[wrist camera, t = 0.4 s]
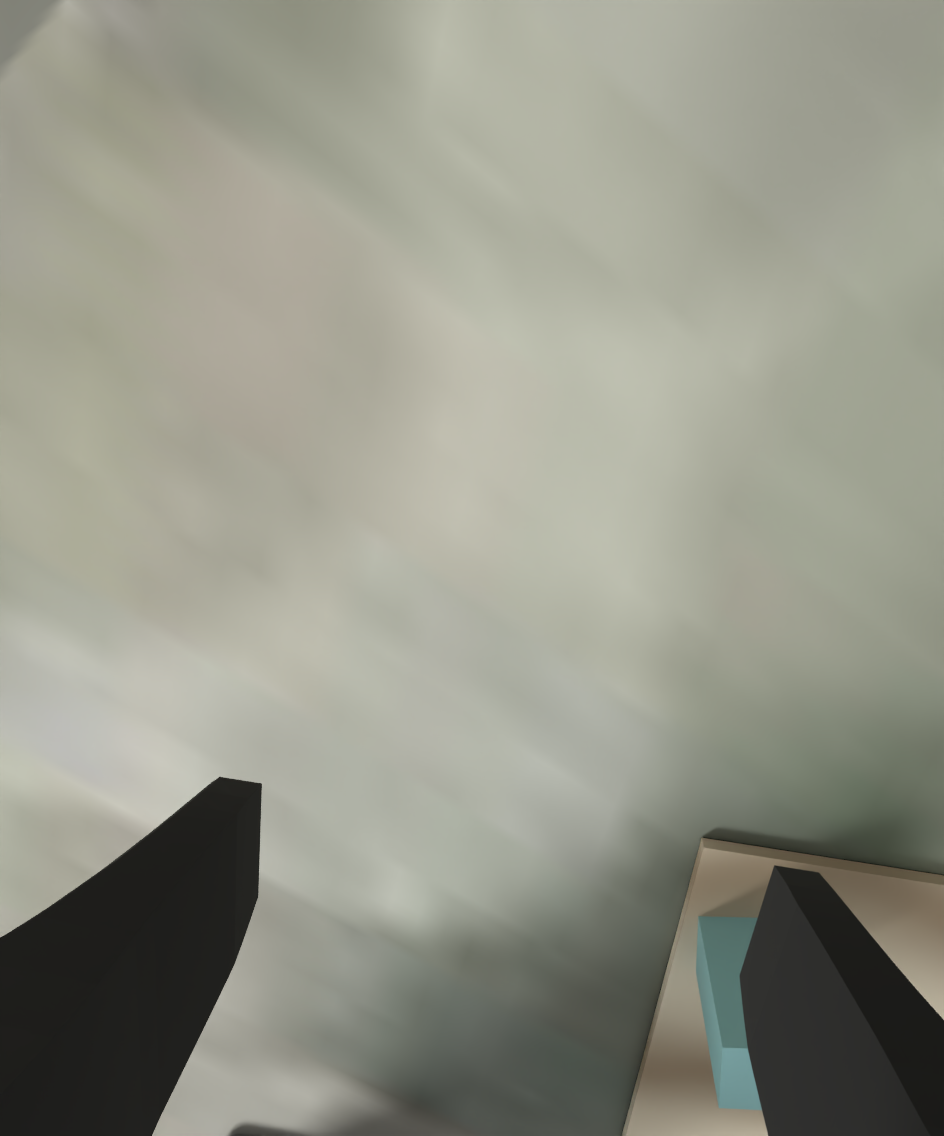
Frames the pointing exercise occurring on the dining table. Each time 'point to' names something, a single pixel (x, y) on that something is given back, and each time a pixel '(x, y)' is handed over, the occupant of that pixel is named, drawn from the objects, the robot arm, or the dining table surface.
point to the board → (736, 889)
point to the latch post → (726, 1007)
